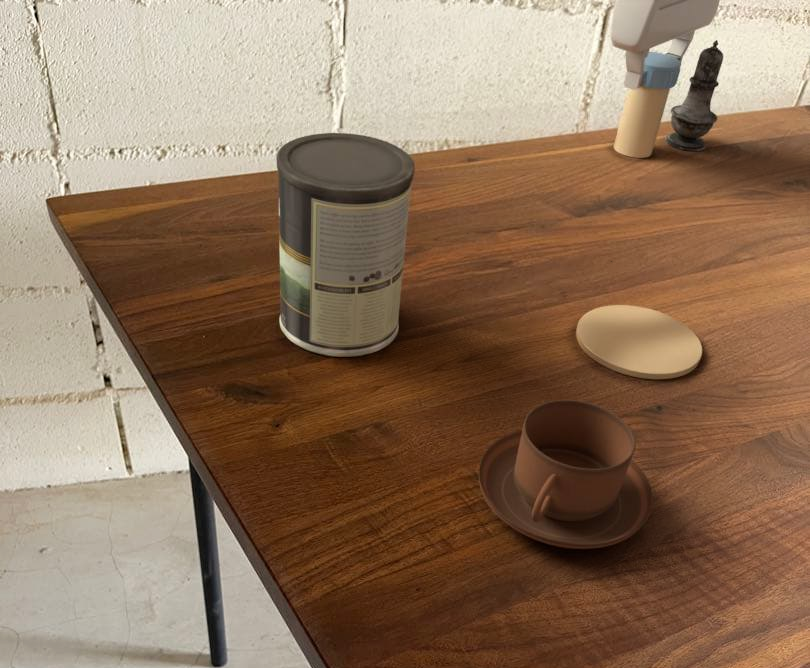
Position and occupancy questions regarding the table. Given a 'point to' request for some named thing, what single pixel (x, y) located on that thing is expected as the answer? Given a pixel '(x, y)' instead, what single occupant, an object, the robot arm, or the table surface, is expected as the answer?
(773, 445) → the table surface
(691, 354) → the coaster
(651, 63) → the lid
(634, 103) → the jar
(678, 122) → the salt shaker
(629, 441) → the cup and saucer
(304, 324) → the coffee can
